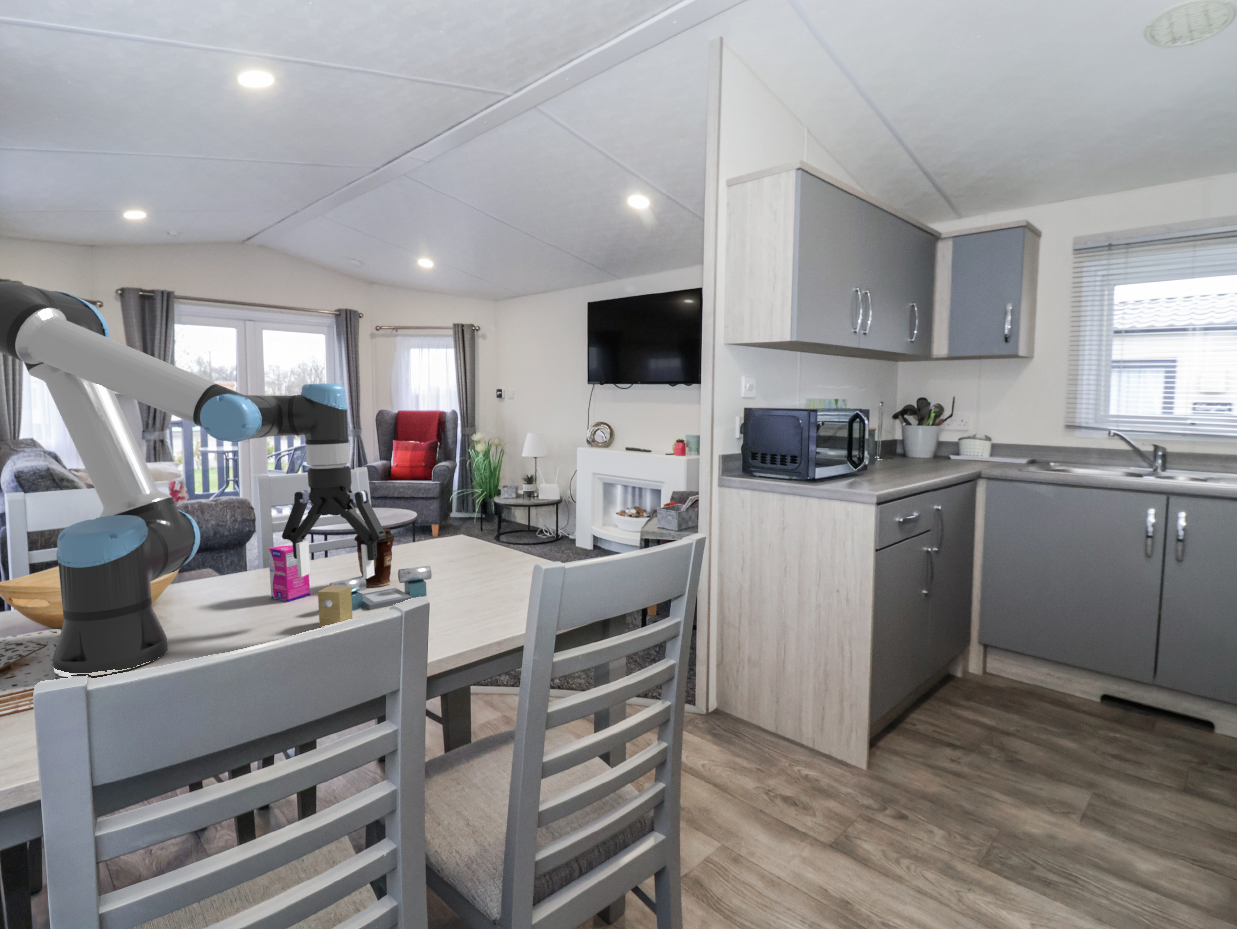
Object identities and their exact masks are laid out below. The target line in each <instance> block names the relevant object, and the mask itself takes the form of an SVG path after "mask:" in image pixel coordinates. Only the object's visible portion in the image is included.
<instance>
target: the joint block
mask: <svg viewBox="0 0 1237 929" xmlns="http://www.w3.org/2000/svg"><path fill="white" fill-rule="evenodd" d="M317 596H318V597H317V599H318V600H317V601H318V620H319V622H318V623H319V628H323V627H322V626H325V625H330V624H334V623H337V622H342V621H345V620H348V619H353V610H352V595H351V587H348V586H329V585H328V586H326V587H325V588H322V589H320V590H318V591H317Z"/></svg>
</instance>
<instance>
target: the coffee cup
mask: <svg viewBox="0 0 1237 929" xmlns="http://www.w3.org/2000/svg"><path fill="white" fill-rule="evenodd" d="M382 528H383V530H384V531H385V533H386V537H385V538H383V539H381V540H378V541H377V558H376V559H374V572H375V575H373V576H371V577H369V578H367V579H365V580H366V587H371V588H372V587H373V588H374V587H383V586H387V585H388V586H389V585H390V584H391V579H390V578H391V572H392V571H391V569H392V558H393V550H392V549H393V545H394V544H393V543H394V541H395V536H394V534H393V533H392V532H391V531H392V530H391V529H390V528H386V527H382ZM354 541H355V542H356V546H357V548H356V550H357V557H358V565H359V571H360V573H361V576H363V565H362V549H361V545H362V544H364V543H365V542H364V540H363V539H362V538H361V537H360V536H359V535H358V533H357V534H356V536H355V537H354Z"/></svg>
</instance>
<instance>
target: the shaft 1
mask: <svg viewBox="0 0 1237 929" xmlns="http://www.w3.org/2000/svg"><path fill="white" fill-rule="evenodd" d="M329 586H348V587H351V595H352V611H356V610H360V609H363V608H364V606H363V594H364V593H361V591H364V590H366V589H367V586H366V580H365V579H363V576H362V575H360V576H359V575H358V576H356V577H351V578H347V579H343V580H338V581H334V582H330V583H329V585H328V587H329Z"/></svg>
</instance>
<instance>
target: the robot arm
mask: <svg viewBox="0 0 1237 929" xmlns="http://www.w3.org/2000/svg"><path fill="white" fill-rule="evenodd" d="M0 354H3V355H6V356H7V357H10V358H13V359H16V360H18V361H21V362H23V364H24V366H25V368H26V370H27V372H28V374H29V375H30V376H31V377H34V378H36V379H39V380H40V381H43V382H44V383H45V385H46V387H47V390H48V392H49V394H50V396H51V397H52V400H53V402H54V404H55V406H56V409H57V410H58V412H59V416H60V417H61V419H62V421H63V423H64V425H65V428H66V429H67V432H68V434H69V436H70V438H71V441H72V443H73V445H74V447H75V448H76V451H77V453H78V456H79V457H80V460H81V462H82V464H83V467H84V468H85V470H86V472H87V475H88V476H89V479H90V481H91V483H92V485H93V487H94V490H95V492H96V494H97V496H98V498H99V501H100V502H101V505H102V507H103V508H102V511H101V512H100V515H99V517H96V518H94V519H86V520H85V519H84V520H83V521H79V522H76V523H73V524H71V525H69V526H66V527H65V528H64V529H62V531H60V533H59V534H58V536H57V542H56V546H57V549H56V556H55V558H56V560H57V563H58V564H57V565H58V573H59V574H58V575H59V583H60V594H61V595H60V596H61V606H62V614H63V615H62V616H63V624H62V628H61V630H60V633H59V636H58V639H57V644H56V646H55V650H54V653H53V656H52V667H54V668H55V669H57V670H61V671H64V672H69V673H92V672H98V671H105V672H107V670H113V669H115V670H122V669H127V668H133V667H136V666H137V665H141V664H143V663H146V662H149V661H153V660H155V659H157V658H158V657H160V658H162V657H163V656H165V655H166V654H167V652H168V650H169V646H168V638H167V637H168V636H167V634H166V633H165V631H164V628H163V626H162V624H161V622H160V620H159V618H158V617H157V614H156V613H155V611H154V608H153V600H152V586H151V582H153V581H155V580H157V579H159V578H161V577H164V576H166V575H169V574H171V573H175V572H177V571H178V570H180V569H181V568H182V567H183V566H184V565H187V563H189V562H190V561H191V560H192V559H193V558H194V556H195V555H196V553H197V551H198V550H199V547H200V543H201V532H200V531H201V530H200V528H199V525H198V523H197V522H196V521H195V519H194V518H193V517H192V516H191V515H190V514H188V513H186V512H184V511H182V510H180V509H178V507H177V505H176V503H175V500H174V498H173V497H172V495H170V494H168V493H165V492H163V491H160V489H159V488H158V487H157V484H156V482H155V480H154V477H153V476H152V473H151V471H150V468H149V467H148V464H147V462H146V460H145V458H144V456H143V453H142V451H141V449H140V447H139V444H138V442H137V440H136V439H135V435H134V434H133V432H132V429H131V428H130V425H129V422H128V421H127V418H126V416H125V414H124V412H123V410H122V407H121V405H120V402H119V401H118V399H117V396H116V394H115V393H117V394H120V395H123V396H125V397H127V398H129V399H132V400H135V401H137V402H139V403H142V404H145V405H147V406H150V407H152V408H155V409H156V410H159V411H161V412H164V413H167V414H169V415H172V416H174V417H177V418H178V419H179V418H180V419H182V420H184V421H186V422H189V423H191V424H194V425H196V426H199V427H201V428H203V429H204V431H205V432H206V433H207V434H208V435H209V436H210V437H212V438H214V439H216V440H217V441H223V442H230V443H238V442H242V441H246V440H253V439H261V438H267V437H284V436H289V437H290V436H304V438H305V441H304V442H305V443H304V444H305V455H306V457H305V458H306V465H308V466H309V468H308V469H307V471H306V472H307V486H308V487H309V488H310V490H309V491H308V490H306V489H305V490H300V491H296V492H295V493H294V501H293V506H292V508H291V510H290V514H289V515H288V519H287V522H286V524H285V526H284V529H283V531H282V533H281V538H282V540H287V541H290V543H292V544H293V556H294V558H295V559H297V567H298V577H303V576H305V575H308V574H309V575H310V574H311V573H312V572H311V571H312V570H311V560H310V559H311V558H310V545H309V544H310V542H309V540H306V539H307V538H306V537H307V536H308V534H309V533H310V531H311V530H312V528H313V527H314V526H315V524H316V523H317V522H318V520H319V519H320V517H321V516H328V515H331V516H335V517H336V516H339V515H340V517H341V518H343V519H345V520H346V522H347V523H348V524H349V526H351V528H352V529H353V530H354V531H355V532H356V533H357V534H358V535H359V536H360V537H361V538H362V539H363V540H364V542H365V543H364V544H362V545H361V549H362V565H363V579H367V578H369V577H371V576H373V575H375V572H374V559H376V558H377V541H378V540H381V539H383V538H385V537H386V533H385V531H384V530H383V528H384V527H383V526H382V524H381V522H380V520H379V519H378V517H377V515H376V513H375V511H374V509H373V507H372V504H371V503H370V500H369V494H368V491H367V490H365V489H364V490H361V491H357V492H353V491H352V488H351V486H352V482H353V481H352V470H351V469H352V468H351V467H350V466H349V465H348V464H349V463H350V462H351V457H350V456H351V454H350V453H351V452H350V442H349V441H350V440H349V424H348V423H349V422H348V421H349V420H348V410H349V408H348V406H347V404H348V403H347V398H346V396H347V395H346V390H345V387H344V386H343V385H342V384H339V383H308V384H307V383H306V384H303V385H302V386H301V392H300V394H296V395H295V394H294V395H259V394H258V395H257V394H256V395H252V394H250V395H249V394H243V393H240V392H238V391H236V390H233V389H230V388H228V387H225V386H223V385H220V384H219V383H216V382H214V381H211V380H209V379H207V378H204V377H203V376H201V375H200V376H199V375H197V374H195V373H192V372H190V371H188V370H186V369H183V368H181V367H178V366H176V365H174V364H171V363H168V362H166V361H164V360H162V359H160V358H157V357H154V356H151V355H149V354H147V353H145V352H143V351H141V350H138V349H135V348H133V347H131V346H128V345H126V344H124V343H121V342H119V341H117V340H114V339H112V338H110V329H109V326H108V323H107V320H106V319H105V317H104V316H103V313H101V312H100V310H99V309H98V308H96V307H95V306H94V305H93V304H91V303H90V302H88V301H86V300H84V299H82V298H79V297H77V296H75V295H73V294H71V293H68V292H64V291H63V292H62V291H57V290H48V289H44V288H40V287H36V286H32V285H31V286H30V285H27V284H24V283H19V282H15V281H13V282H12V281H0ZM309 502H310V503H311V504H312V506H311V507H310V509H309V510H308V512H307V515H305V512H306V510H307V508H308V503H309ZM352 502H353V503H354V504H355V505H356V507H357V508H355V506H353V504H352ZM357 510H358V511H359V513H360V514H359V513H358V512H357ZM304 515H305V518H303V517H304ZM360 515H361V516H360ZM302 519H303V521H302ZM164 654H165V655H164ZM161 656H162V657H161ZM157 660H158V659H157ZM155 661H156V660H155ZM153 662H154V661H153ZM143 666H144V665H141V666H140V667H143ZM131 670H132V669H129V670H123V671H118V672H112V674H111V675H113V673H114V674H117V673H122V672H123V673H124V672H126V671H131ZM86 675H88V676H91V675H89V674H77V675H71V676H86ZM101 676H102V675H99V676H98V677H101ZM103 676H107V675H106V674H104V675H103ZM95 677H97V676H95ZM95 677H94V678H95Z"/></svg>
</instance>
